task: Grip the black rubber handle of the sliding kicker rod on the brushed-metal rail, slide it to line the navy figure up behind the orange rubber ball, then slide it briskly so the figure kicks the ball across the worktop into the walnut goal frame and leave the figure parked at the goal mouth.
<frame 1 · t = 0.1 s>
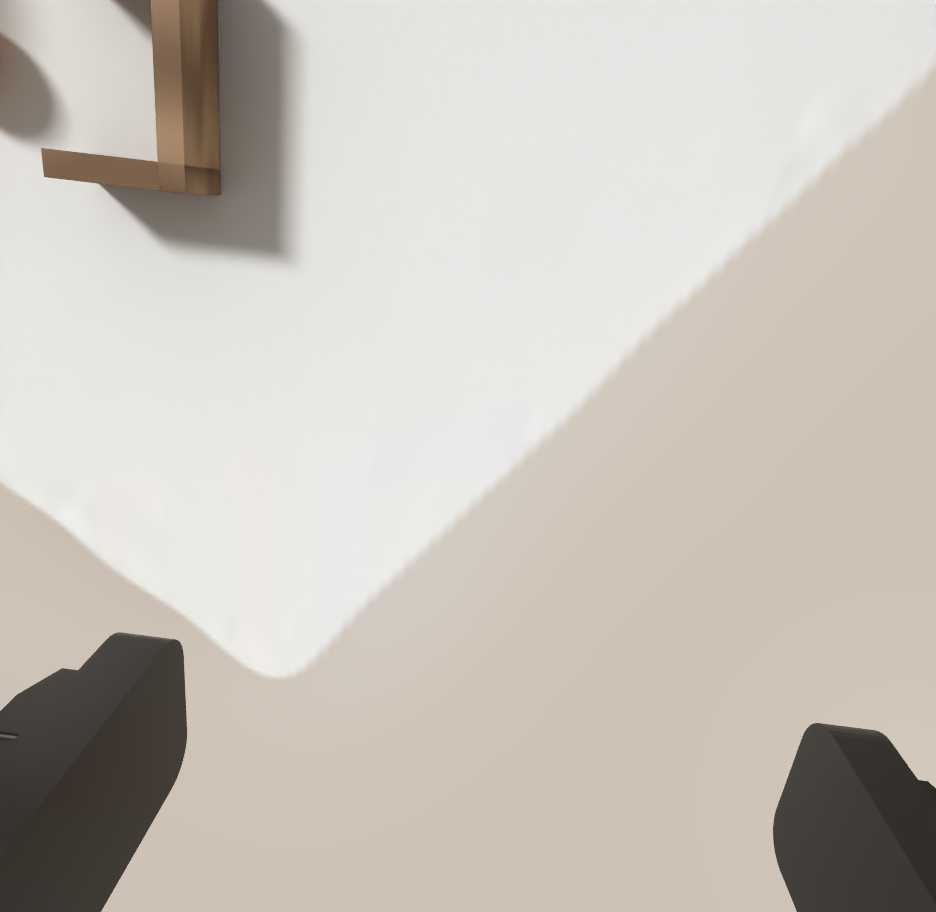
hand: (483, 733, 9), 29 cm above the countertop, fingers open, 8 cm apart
goal: (151, 72, 33), on the countertop
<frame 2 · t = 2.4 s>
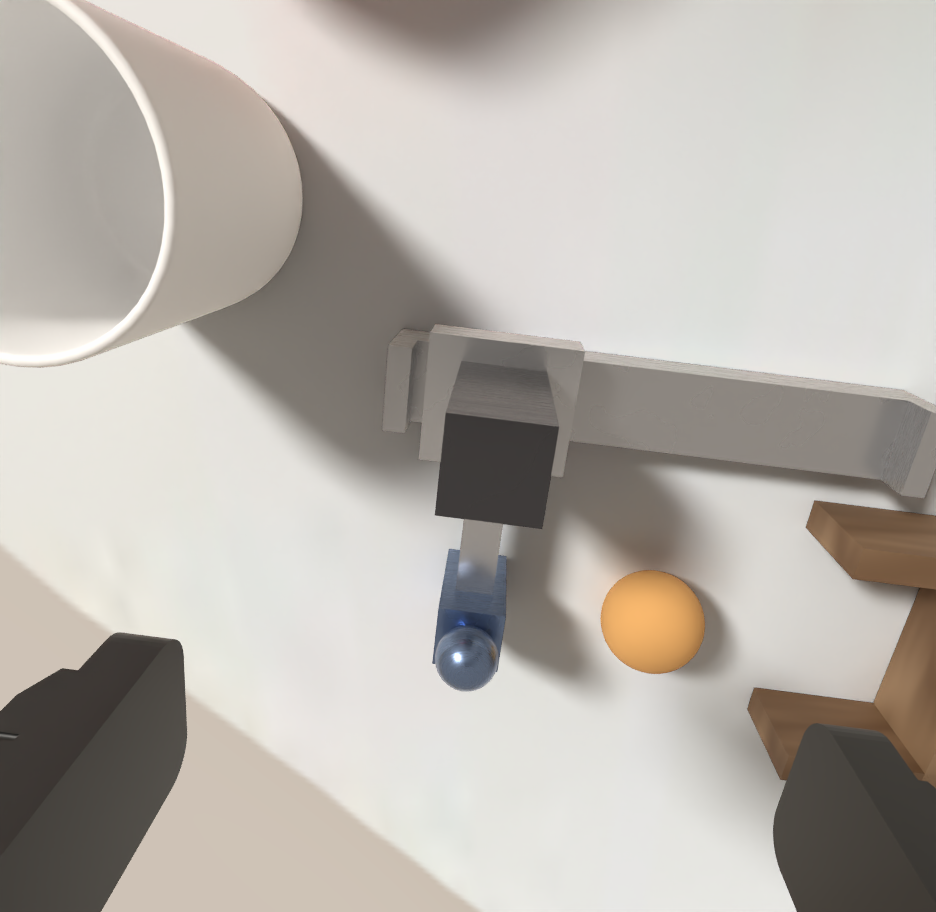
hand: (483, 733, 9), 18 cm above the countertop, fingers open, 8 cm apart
mug: (147, 169, 24), on the countertop
rail: (643, 397, 26), on the countertop
ball: (651, 621, 27), point 2 cm above the countertop
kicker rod: (483, 524, 23), point 5 cm above the countertop, slide at -5.5 cm
goal: (855, 621, 29), on the countertop
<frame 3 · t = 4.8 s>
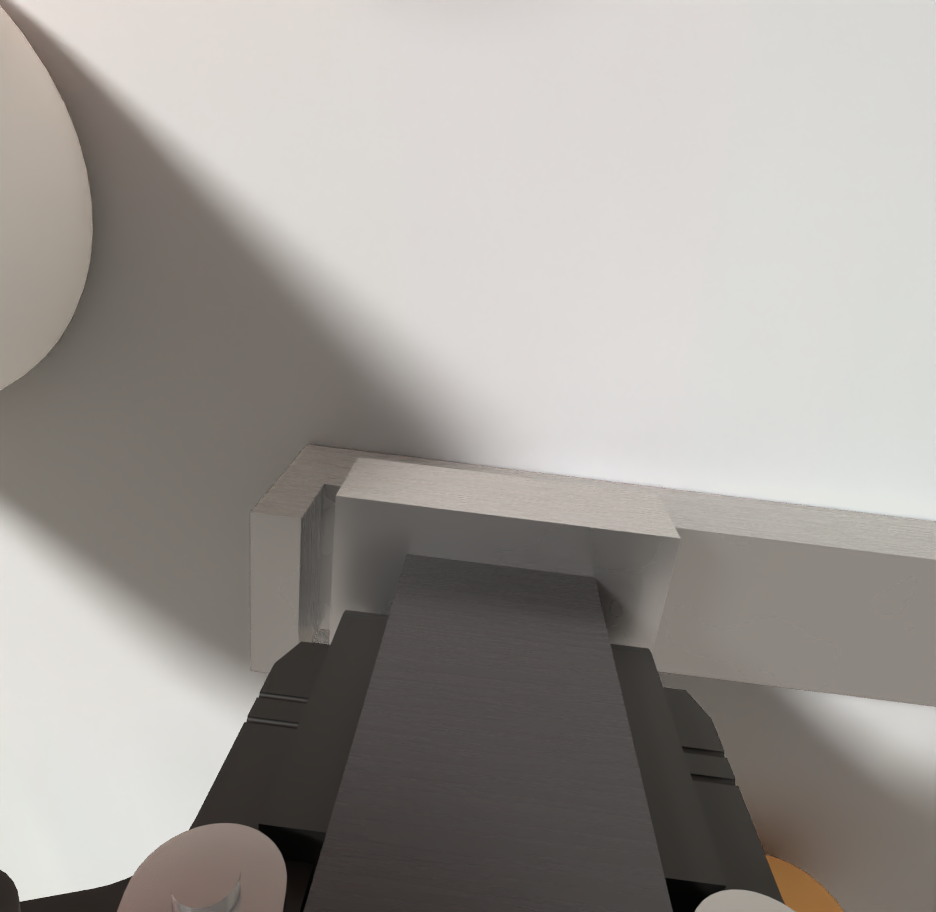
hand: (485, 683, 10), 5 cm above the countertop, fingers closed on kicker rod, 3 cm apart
rail: (757, 568, 14), on the countertop
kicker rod: (458, 890, 11), point 5 cm above the countertop, slide at -5.5 cm, touching gripper
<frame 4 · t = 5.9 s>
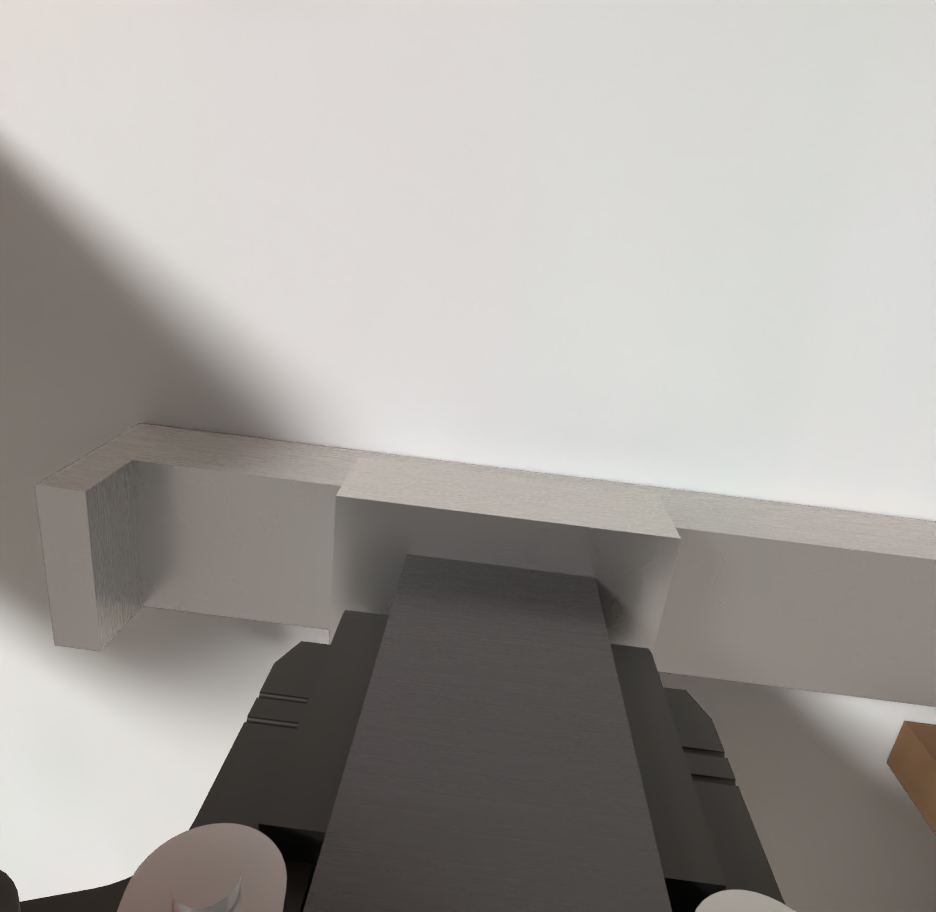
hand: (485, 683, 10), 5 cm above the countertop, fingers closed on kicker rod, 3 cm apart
rail: (593, 547, 14), on the countertop
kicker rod: (458, 890, 11), point 5 cm above the countertop, slide at -2.1 cm, touching gripper
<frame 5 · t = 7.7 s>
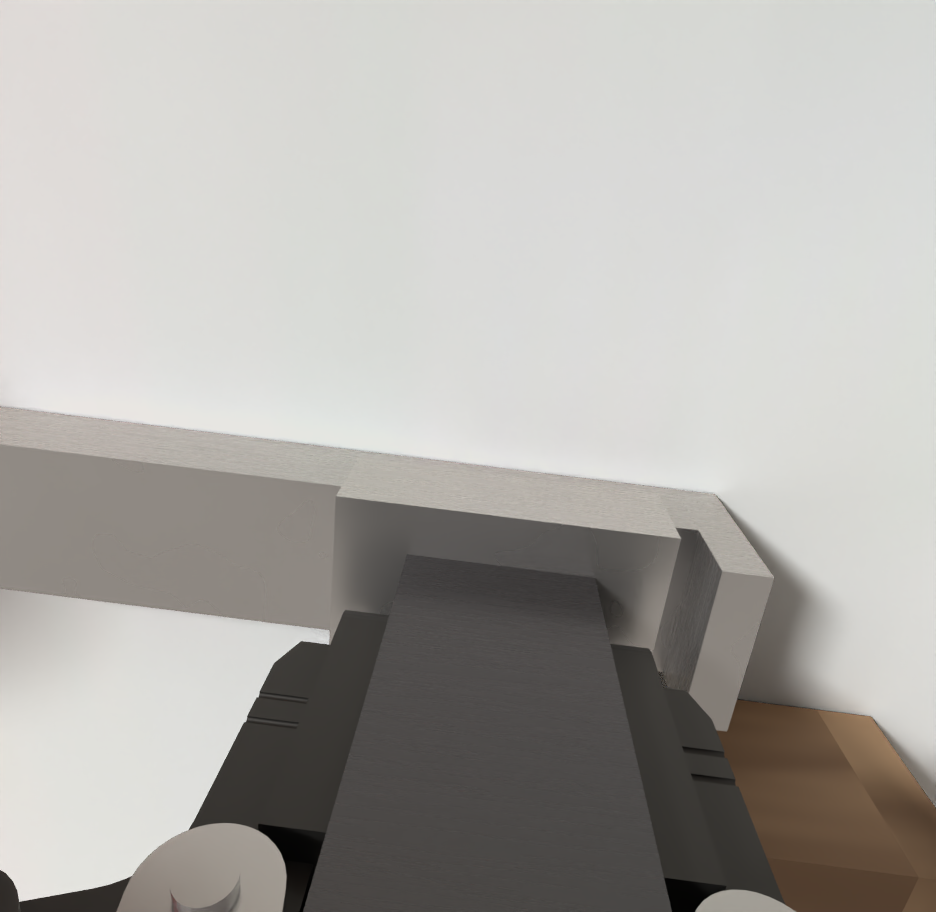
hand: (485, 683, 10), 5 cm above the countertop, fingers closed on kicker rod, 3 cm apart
rail: (246, 504, 14), on the countertop
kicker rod: (458, 890, 11), point 5 cm above the countertop, slide at 5.2 cm, touching gripper
goal: (674, 865, 17), on the countertop
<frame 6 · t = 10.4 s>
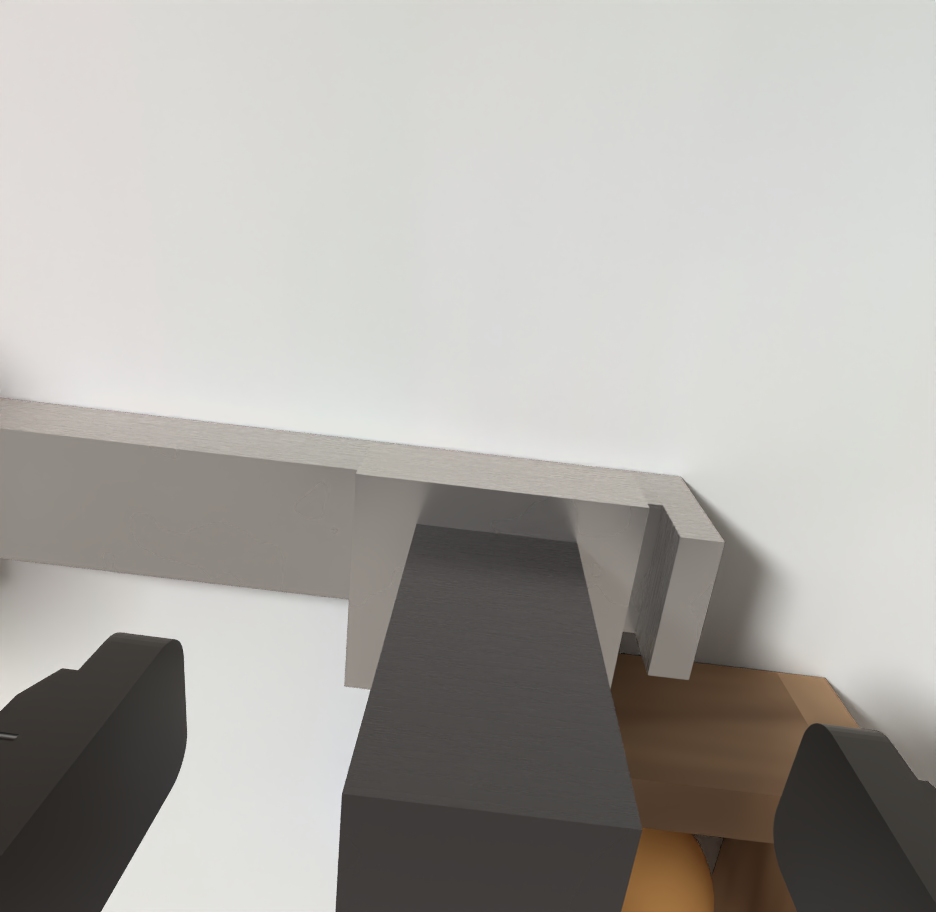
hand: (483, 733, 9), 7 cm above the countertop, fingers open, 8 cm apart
rail: (263, 489, 16), on the countertop
ball: (627, 883, 17), point 2 cm above the countertop, tilted 131°
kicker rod: (462, 817, 12), point 5 cm above the countertop, slide at 5.3 cm
goal: (652, 820, 19), on the countertop
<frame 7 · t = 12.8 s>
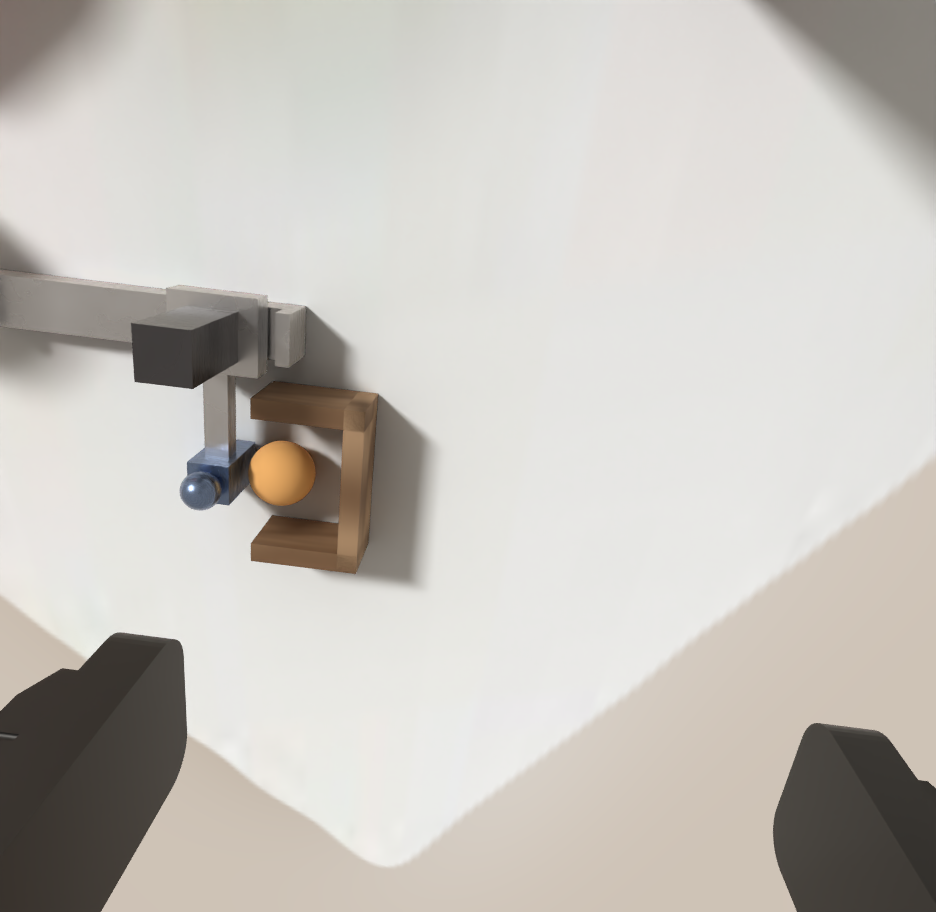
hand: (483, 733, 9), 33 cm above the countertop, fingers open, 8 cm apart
rail: (150, 312, 41), on the countertop
ball: (282, 473, 42), point 2 cm above the countertop, tilted 159°
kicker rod: (204, 406, 37), point 5 cm above the countertop, slide at 5.3 cm
goal: (322, 465, 44), on the countertop
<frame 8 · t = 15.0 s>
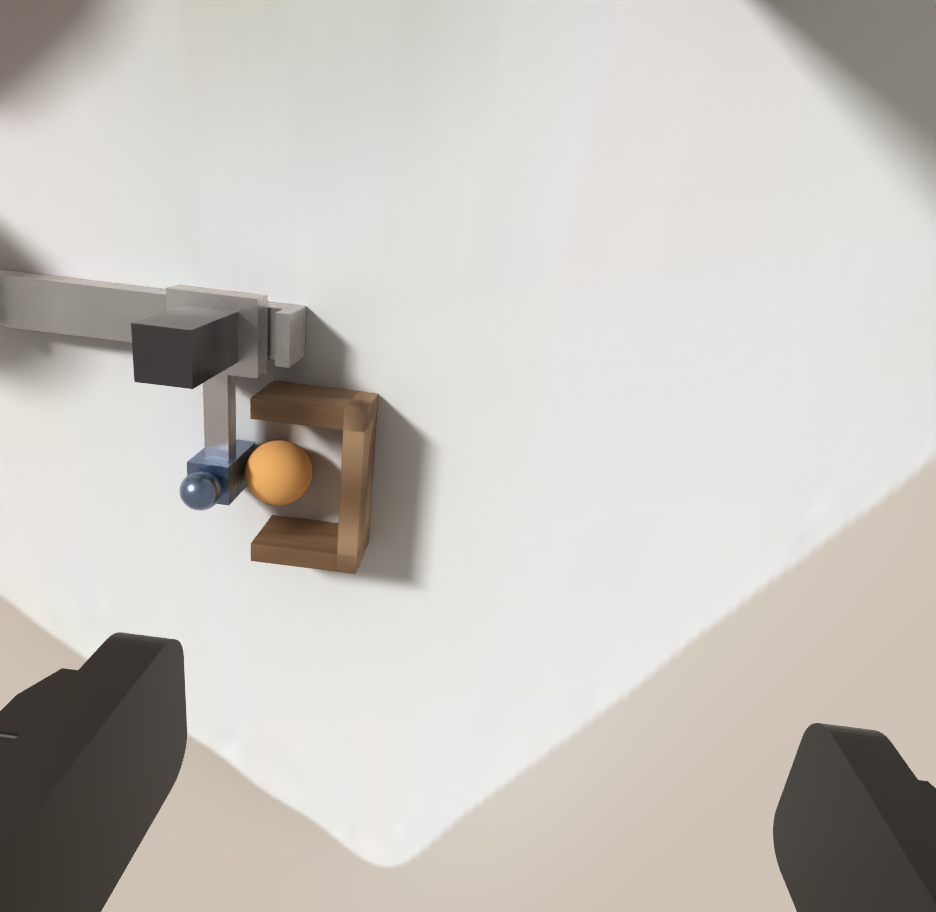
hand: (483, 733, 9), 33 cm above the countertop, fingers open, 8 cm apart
rail: (150, 312, 41), on the countertop
ball: (279, 472, 42), point 2 cm above the countertop, tilted 164°
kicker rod: (204, 405, 37), point 5 cm above the countertop, slide at 5.3 cm
goal: (322, 465, 44), on the countertop
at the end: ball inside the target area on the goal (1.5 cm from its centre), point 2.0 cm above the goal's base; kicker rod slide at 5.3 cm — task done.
